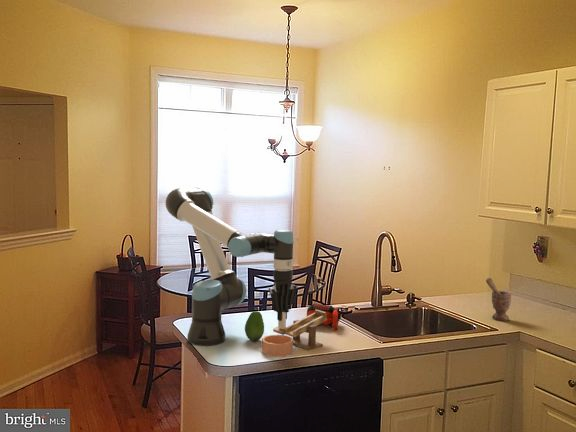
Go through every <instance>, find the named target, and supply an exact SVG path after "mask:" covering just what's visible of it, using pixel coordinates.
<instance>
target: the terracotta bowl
mask: <svg viewBox="0 0 576 432" xmlns="http://www.w3.org/2000/svg"><path fill="white" fill-rule="evenodd" d="M262 337H263V338H262ZM262 337H261V352H262V354H264V355H266V356H271V357H286V356H289V355H292V353H293V352H294V345H293V339H292V338H293V337H292V336H289V335H286V334H284V335H282V334H269V335H266V336H262Z"/></svg>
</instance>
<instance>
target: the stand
mask: <svg viewBox="0 0 576 432" xmlns="http://www.w3.org/2000/svg"><path fill="white" fill-rule="evenodd" d="M300 320H301V319H300ZM300 320H299V319H295V320H293V323H292V324H294V323H296V322H298V321H300ZM316 333H317V326H315V325H311V326H309V333H308V338H306V337H303V336H302V335H301V334H300V335H299V336H297V337H291V338H292V339H293V346H295V347H299V348H301V349H303V350H306V351H309V350H314V349H317V348H321V347H323V346H324V344H323V343H320V342H318V341H316V338H317V334H316Z"/></svg>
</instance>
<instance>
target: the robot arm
mask: <svg viewBox="0 0 576 432" xmlns="http://www.w3.org/2000/svg"><path fill="white" fill-rule="evenodd" d="M213 205H214V198H213V196H212V194H211V193H210V192H209V191H208V190H206V189H204V188H199V187H191V188H189V187H187V188H186V187H185V188H182V187H181V188H180V187H179V188H175V189H173V190H171V191H170V192H169V193H168V194H167V196H166V198H165V208H166V211H167V212H168V213H169V214H170V216H172V217H173V218H175V219H176V220H178V221H180V222H185V223H187V224H189V225H191V226H192V229H193V232H194V235H195V238H196V239H197V242H198V246H199V248H200V251H201V254H202V256H203V260H204V262H205V264H206V268H207V271H208V273H209V275H210V278H209V279H206V280H200V281H198V282H196V283H194V285H193V286H192V293H191V323H190V325H189V326H190V327H189V329H188V333H187V339H186V341H187V342H188V343H189V344H192V345H195V346H215V345H219V344H222V343H224V342H225V340H226V331H225V328H224V326H223V322H222V311H224V310H227V309H230V308H234V307H236V306H237V305H241V303H243V301H244V300H245V298H246V296H247V286H246V283H245V282H244V281H243V279H241V278H240V277H237V275H236V272H235V271H234V270H232V269H230V266H229V264H228V261H227V258H226V256H225V252H224V250H223V248H222V245H223V246H225V247H226V248H228V249H227V250H228V251H229V253H230V255H231V256H233V257H236V258H244V257H247V256H252V255H257V254H261V253H264V254H265V253H267V254H273V276H272V277H273V280H274V282H273V286H271V287H268V292H269V294H270V299H271V304H272V305H271V306H272V310H273V311H274V312H275V313H277V314H276V315H277V319H276V320H277V321H278V323H277V327H278V328H281V329H284V328H286V326H287V319H288V313H289V312H290V310H292V305H293V303H294V302H293V301H294V295H295V291H296V289H297V284H296V285H295V284H293V281H292V279H293V276H294V275H293V274H294V273H293V266H294V264H293V263H294V242H295V241H294V233H293V231H292V230H289V229H276V230H274V232H273V234H271V233H261V232H251V233H249V235H245V234H243V233H242V232H241V231H239V230H237V229H235V228H234V227H232V226H230V225H229V224H227V223H225V222H224V221H222V220H221V219H219V218H217V217H216V216H213V211H212V210H213V208H214V207H213Z"/></svg>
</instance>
